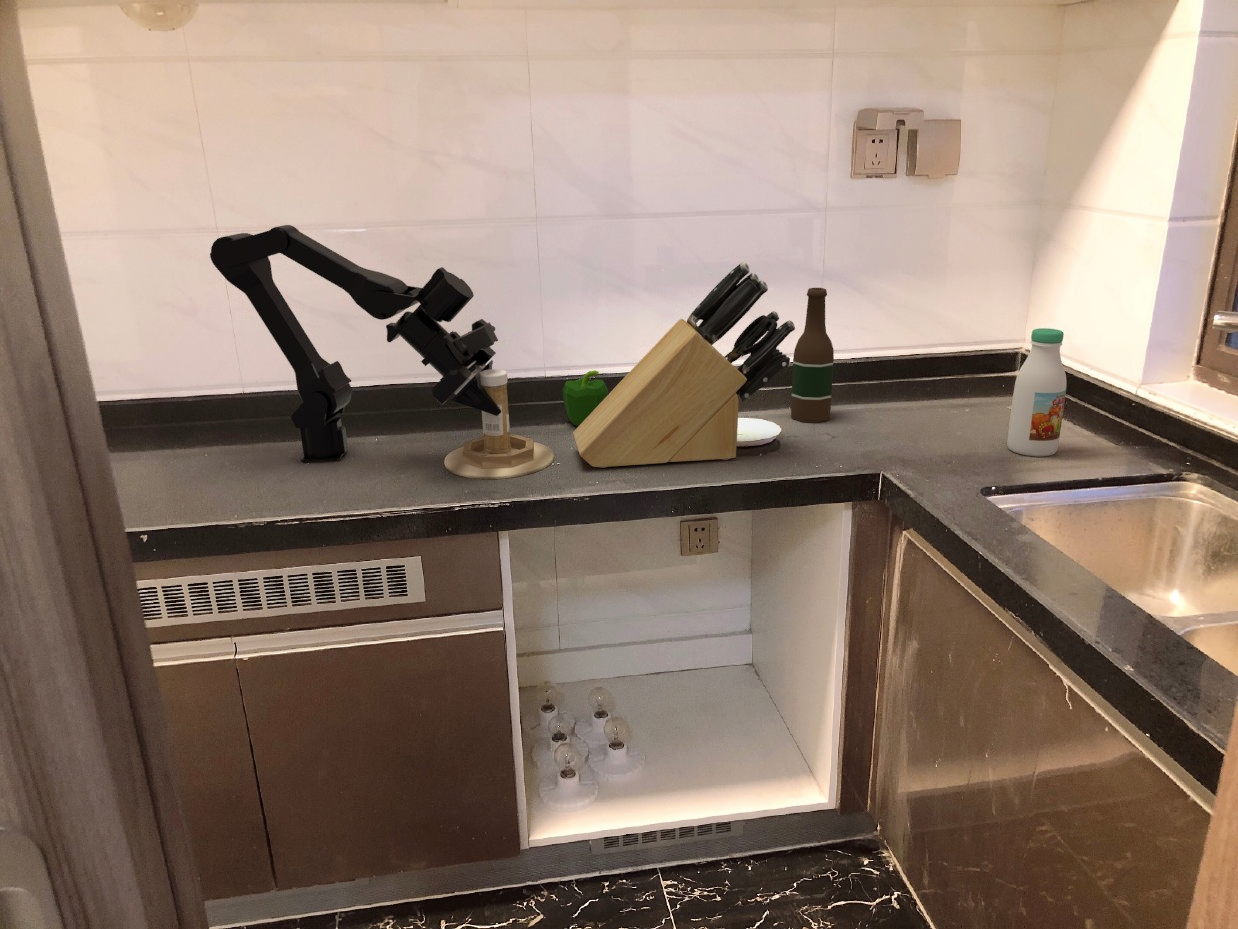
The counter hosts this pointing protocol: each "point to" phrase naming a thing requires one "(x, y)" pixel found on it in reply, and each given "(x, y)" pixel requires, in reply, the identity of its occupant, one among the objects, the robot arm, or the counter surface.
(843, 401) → the counter surface
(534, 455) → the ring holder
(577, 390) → the bell pepper
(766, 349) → the knife block
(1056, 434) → the milk bottle
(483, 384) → the sprinkles bottle
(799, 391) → the beer bottle
